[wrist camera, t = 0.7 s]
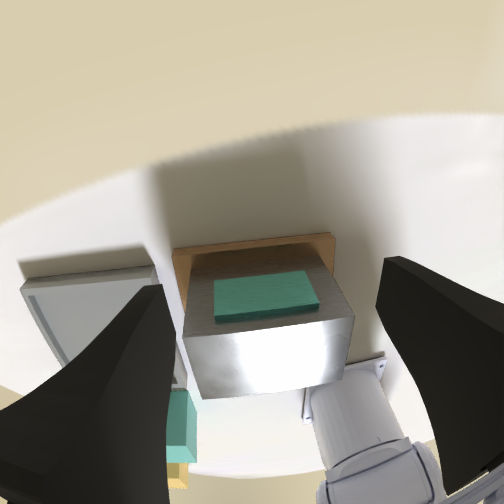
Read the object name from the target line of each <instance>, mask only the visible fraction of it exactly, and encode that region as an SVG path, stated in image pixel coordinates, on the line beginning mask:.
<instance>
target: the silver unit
mask: <svg viewBox="0 0 504 504" xmlns="http://www.w3.org/2000/svg"><path fill="white" fill-rule="evenodd" d="M334 251H335V238H334V237H333V235H332V234H331V233H330V232H329V233H319V234H309V235H299V236H290V237H280V238H270V239H261V240H251V241H242V242H233V243H224V244H215V245H206V246H197V247H188V248H179V249H174V250H173V254H172V260H173V265H174V269H175V274H176V278H177V282H178V287H179V291H180V295H181V299H182V303H183V307H184V311H185V318H184V327H183V336H182V339H183V342H184V345H185V348H186V352H187V355H188V358H189V361H190V364H191V367H192V371H193V374H194V377H195V380H196V383H197V386H198V388H199V391H200V394H201V397H202V399H217V398H229V397H239V396H248V395H257V394H265V393H272V392H279V391H286V390H292V389H298V388H304V387H310V386H315V385H320V384H325V383H330V382H335V381H340V380H342V377H343V372H344V368H345V364H346V359H347V354H348V350H349V345H350V340H351V335H352V329H353V324H354V319H355V315H354V313H353V311H352V309H351V308H350V306H349V304H348V302H347V301H346V299H345V297H344V295H343V294H342V292H341V290H340V289H339V287H338V285H337V283H336V282H335V280H334V278H333V265H334Z"/></svg>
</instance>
